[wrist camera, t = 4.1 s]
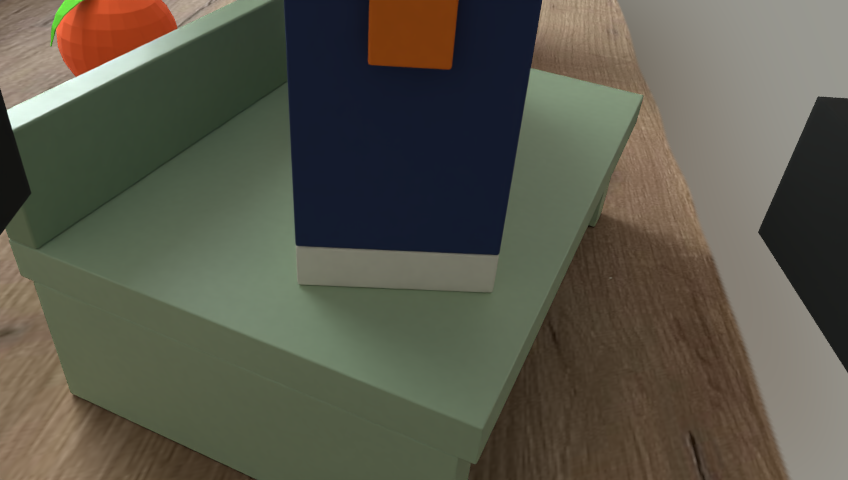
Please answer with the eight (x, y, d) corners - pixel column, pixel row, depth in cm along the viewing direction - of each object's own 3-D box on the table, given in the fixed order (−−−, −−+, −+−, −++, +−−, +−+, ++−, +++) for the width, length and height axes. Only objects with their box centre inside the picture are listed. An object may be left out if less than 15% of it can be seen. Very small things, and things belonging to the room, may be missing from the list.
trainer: (494, 307, 22) (553, -31, 16) (294, 299, 22) (276, -50, 16) (464, 82, 34) (490, -156, 28) (336, 75, 34) (336, -167, 28)
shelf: (610, 214, 39) (666, 12, 32) (456, 573, 22) (504, 312, 16) (347, 137, 43) (348, -54, 37) (59, 388, 27) (-32, 126, 20)
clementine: (110, 136, 42) (83, 14, 37) (30, 101, 44) (-3, -16, 40) (210, 88, 47) (197, -23, 43) (134, 59, 50) (114, -48, 46)
